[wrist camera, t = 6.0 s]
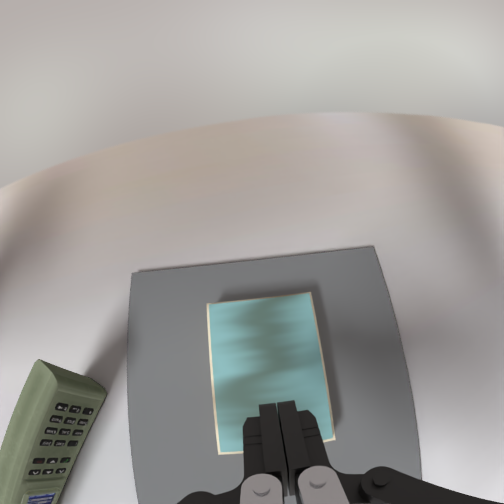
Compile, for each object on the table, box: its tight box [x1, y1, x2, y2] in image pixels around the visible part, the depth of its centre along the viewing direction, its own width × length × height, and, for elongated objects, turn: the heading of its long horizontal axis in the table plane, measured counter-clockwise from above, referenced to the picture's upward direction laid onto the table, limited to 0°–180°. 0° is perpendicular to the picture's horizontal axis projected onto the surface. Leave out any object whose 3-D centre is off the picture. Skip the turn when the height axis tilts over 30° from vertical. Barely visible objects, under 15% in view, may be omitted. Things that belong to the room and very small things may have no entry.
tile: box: [207, 292, 335, 455], centre depth 17 cm, size 7×2×10 cm
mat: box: [127, 247, 421, 504], centre depth 17 cm, size 20×22×1 cm
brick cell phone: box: [0, 359, 107, 504], centre depth 10 cm, size 7×3×25 cm
